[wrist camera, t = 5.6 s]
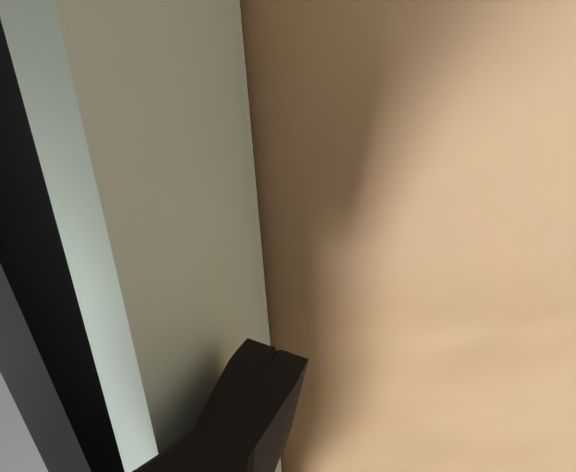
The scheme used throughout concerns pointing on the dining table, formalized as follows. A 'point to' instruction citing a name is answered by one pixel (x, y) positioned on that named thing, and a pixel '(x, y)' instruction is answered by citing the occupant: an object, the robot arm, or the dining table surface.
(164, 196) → the door
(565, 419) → the dining table surface
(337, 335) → the dining table surface
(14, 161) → the cabinet
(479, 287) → the dining table surface
